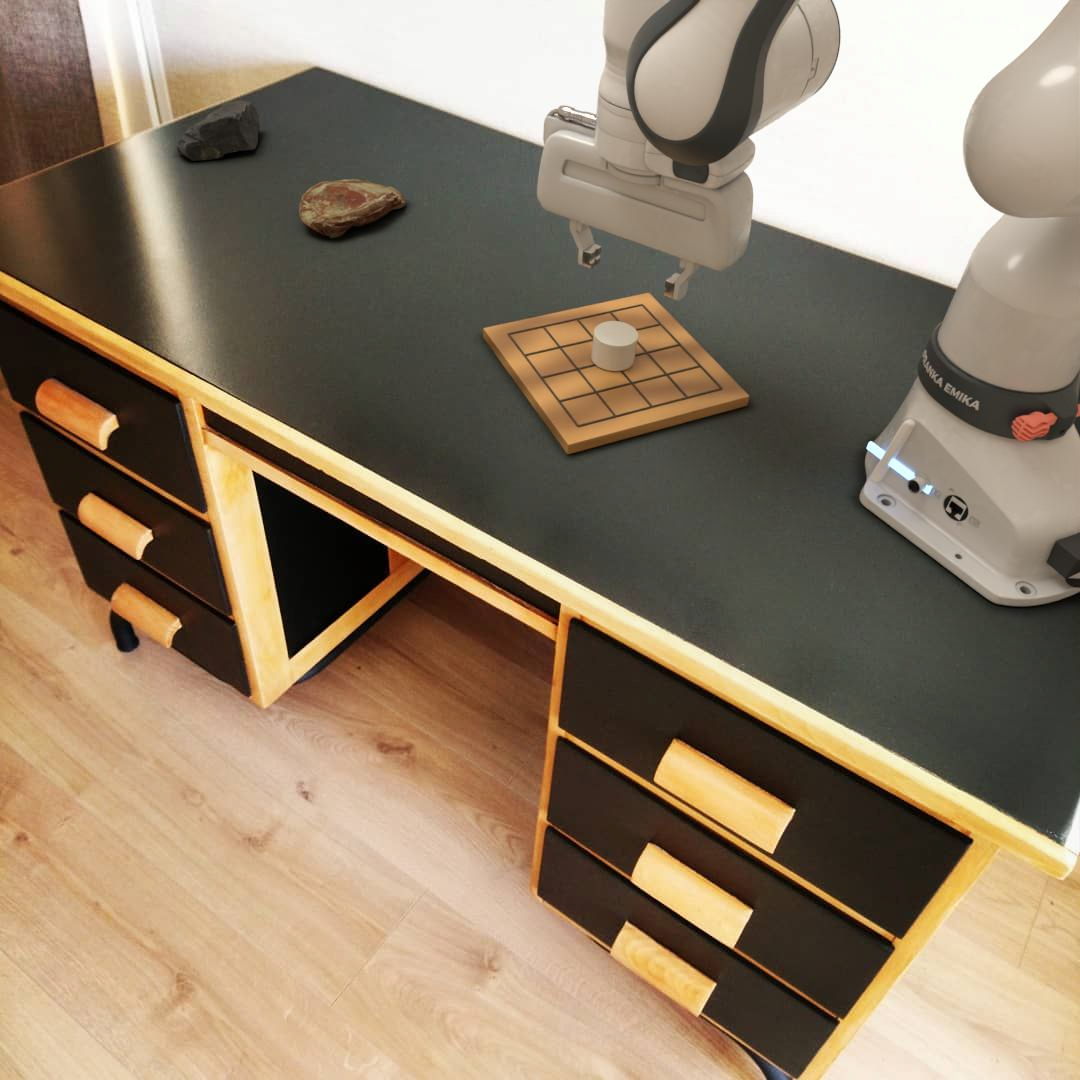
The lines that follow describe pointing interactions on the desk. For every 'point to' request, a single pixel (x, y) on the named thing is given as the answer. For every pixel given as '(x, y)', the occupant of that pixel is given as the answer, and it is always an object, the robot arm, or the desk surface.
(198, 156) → the rock
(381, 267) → the desk surface
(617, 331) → the game stone
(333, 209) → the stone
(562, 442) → the grid board
